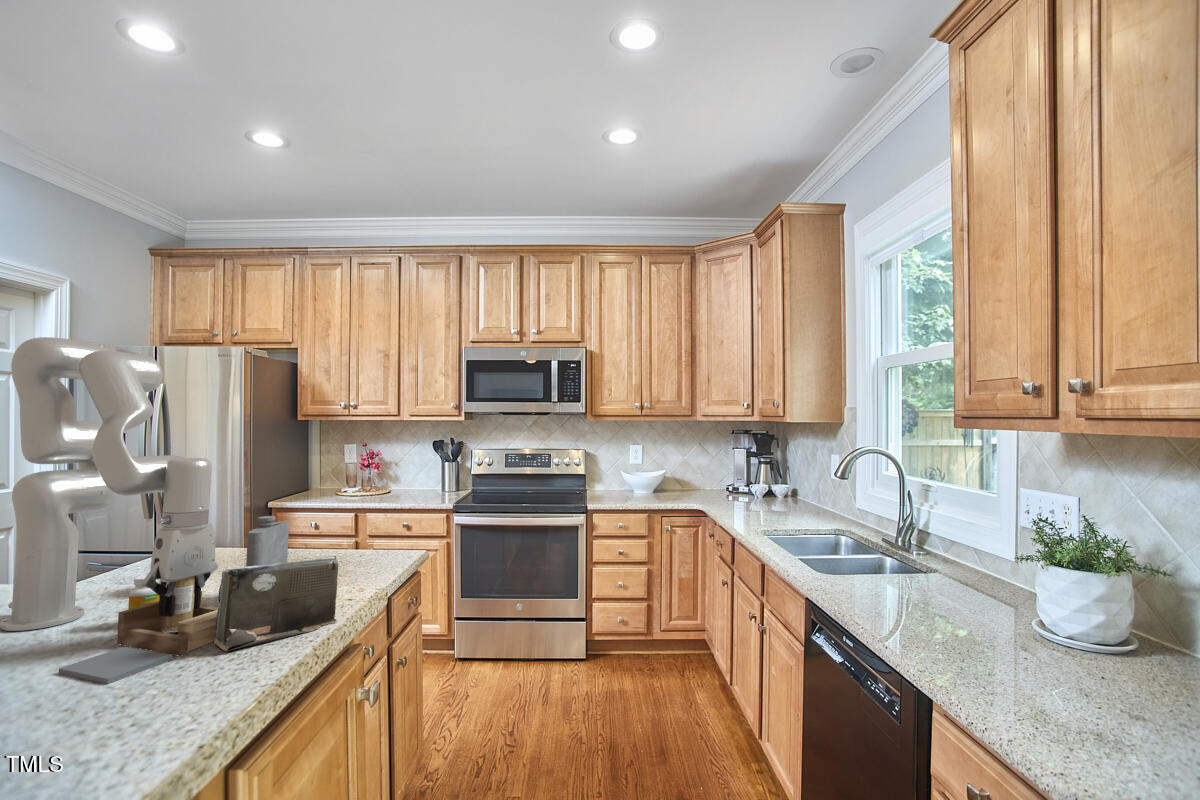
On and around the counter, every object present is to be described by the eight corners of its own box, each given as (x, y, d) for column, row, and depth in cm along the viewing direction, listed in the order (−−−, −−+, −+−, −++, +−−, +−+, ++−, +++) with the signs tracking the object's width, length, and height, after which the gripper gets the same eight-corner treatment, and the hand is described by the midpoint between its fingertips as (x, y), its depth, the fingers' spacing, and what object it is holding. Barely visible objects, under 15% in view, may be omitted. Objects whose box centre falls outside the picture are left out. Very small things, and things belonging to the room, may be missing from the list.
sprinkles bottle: (194, 622, 113) (199, 556, 114) (189, 630, 109) (194, 561, 110) (167, 625, 111) (171, 558, 112) (160, 633, 107) (165, 563, 108)
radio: (334, 614, 123) (336, 546, 124) (350, 624, 118) (352, 553, 118) (209, 643, 106) (213, 564, 107) (221, 656, 101) (224, 572, 101)
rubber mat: (58, 673, 93) (58, 668, 93) (125, 650, 102) (125, 646, 102) (107, 684, 89) (107, 678, 89) (171, 659, 99) (172, 654, 99)
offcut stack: (172, 648, 103) (173, 624, 104) (227, 628, 114) (228, 606, 114) (187, 651, 102) (188, 626, 102) (242, 630, 113) (243, 608, 113)
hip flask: (256, 611, 125) (260, 521, 126) (237, 611, 124) (241, 522, 125) (288, 590, 140) (291, 511, 141) (271, 591, 140) (274, 511, 141)
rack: (116, 644, 105) (118, 612, 105) (195, 618, 119) (196, 590, 120) (180, 656, 100) (182, 622, 100) (254, 628, 114) (256, 598, 115)
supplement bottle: (141, 629, 113) (144, 580, 114) (120, 626, 114) (123, 579, 115) (167, 620, 118) (169, 574, 119) (146, 618, 119) (148, 572, 120)
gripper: (154, 528, 102) (147, 628, 101) (238, 515, 118) (233, 601, 117) (126, 524, 105) (119, 622, 104) (212, 512, 121) (207, 597, 120)
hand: (179, 610), depth 111 cm, fingers closed on sprinkles bottle, 4 cm apart
